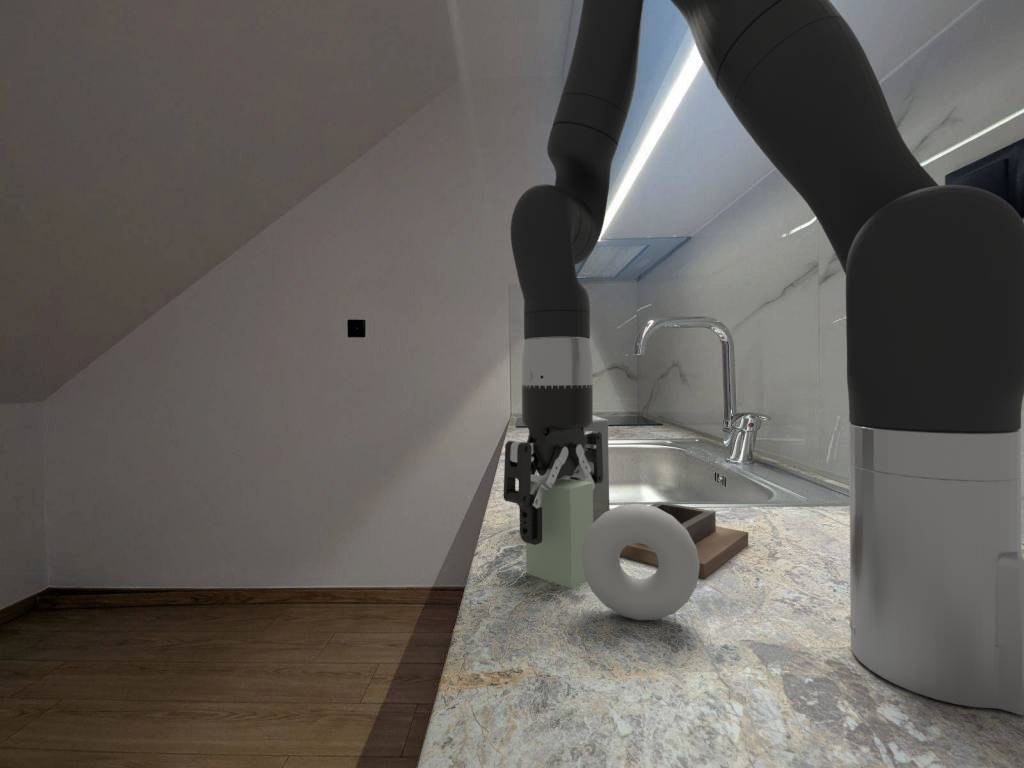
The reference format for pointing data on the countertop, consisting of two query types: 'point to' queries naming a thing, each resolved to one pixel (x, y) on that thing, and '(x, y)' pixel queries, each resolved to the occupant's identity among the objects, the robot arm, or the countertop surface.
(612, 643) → the countertop surface
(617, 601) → the donut
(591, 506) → the keyed peg
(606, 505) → the skincare box
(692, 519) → the keyed socket board
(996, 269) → the robot arm
